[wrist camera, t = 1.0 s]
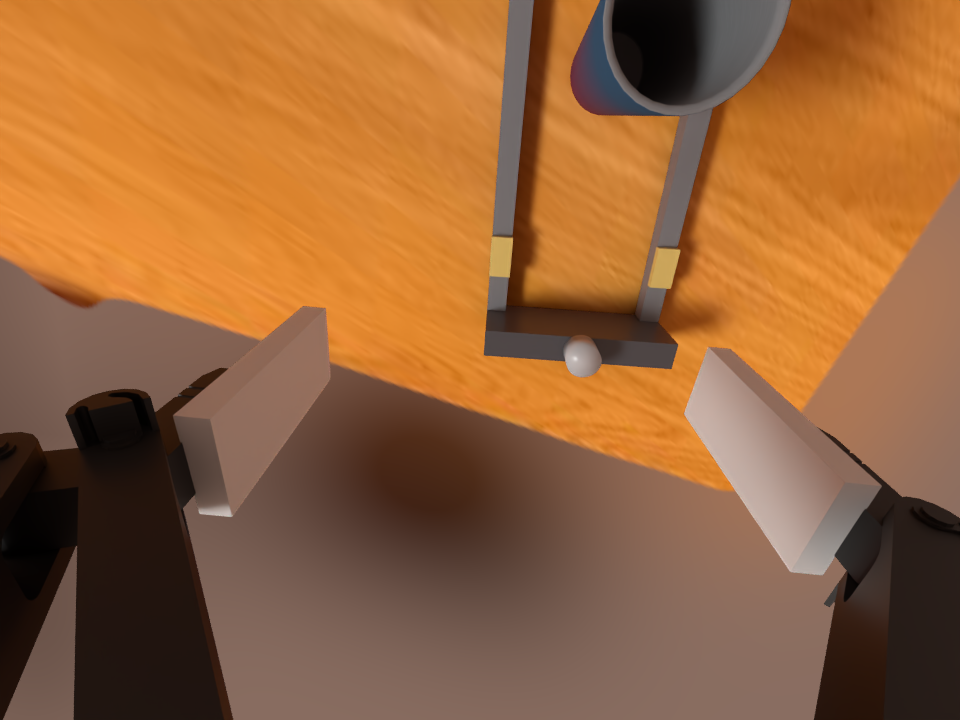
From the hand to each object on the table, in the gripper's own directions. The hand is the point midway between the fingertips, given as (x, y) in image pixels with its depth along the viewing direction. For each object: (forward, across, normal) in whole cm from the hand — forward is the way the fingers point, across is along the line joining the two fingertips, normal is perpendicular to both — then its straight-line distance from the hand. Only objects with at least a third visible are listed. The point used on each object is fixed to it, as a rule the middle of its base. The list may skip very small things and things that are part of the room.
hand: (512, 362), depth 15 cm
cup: (+22, +6, +12) cm, 26 cm away
